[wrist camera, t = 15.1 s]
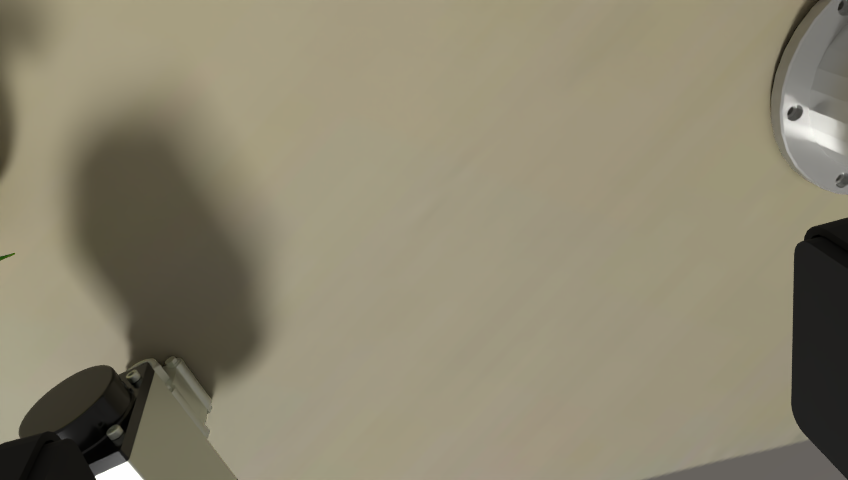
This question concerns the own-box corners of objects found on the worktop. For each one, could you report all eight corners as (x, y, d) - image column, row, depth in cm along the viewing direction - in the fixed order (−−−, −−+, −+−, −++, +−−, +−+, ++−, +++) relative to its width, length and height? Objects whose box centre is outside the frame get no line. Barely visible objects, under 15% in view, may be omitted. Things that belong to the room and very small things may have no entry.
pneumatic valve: (148, 289, 38) (91, 444, 27) (260, 443, 43) (249, 625, 32) (53, 333, 38) (-42, 505, 27) (175, 482, 43) (136, 675, 32)
